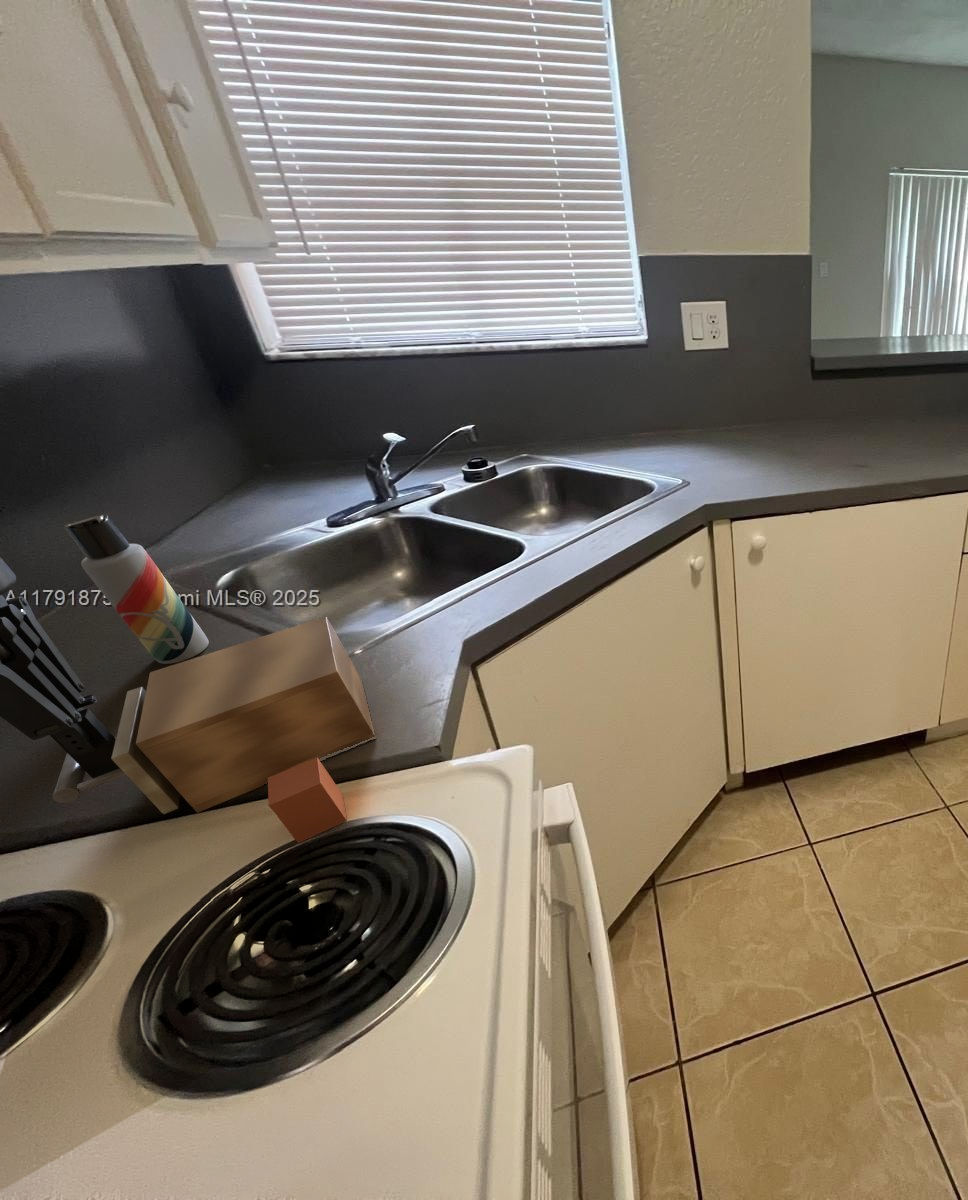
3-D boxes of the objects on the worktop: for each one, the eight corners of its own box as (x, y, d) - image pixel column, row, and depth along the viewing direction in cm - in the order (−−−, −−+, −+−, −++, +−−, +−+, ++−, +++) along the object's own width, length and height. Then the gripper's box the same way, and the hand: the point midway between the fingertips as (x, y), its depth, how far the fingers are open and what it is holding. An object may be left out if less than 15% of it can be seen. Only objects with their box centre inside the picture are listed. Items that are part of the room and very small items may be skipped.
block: (298, 843, 59) (268, 805, 56) (295, 815, 61) (267, 777, 58) (347, 820, 61) (320, 782, 57) (342, 794, 63) (317, 757, 60)
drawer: (82, 847, 58) (20, 791, 54) (101, 771, 66) (48, 716, 61) (337, 744, 68) (302, 689, 63) (327, 688, 76) (295, 636, 71)
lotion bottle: (166, 670, 81) (59, 533, 70) (149, 656, 84) (43, 522, 73) (217, 646, 85) (123, 513, 74) (200, 634, 88) (107, 504, 77)
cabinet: (197, 813, 62) (135, 743, 57) (202, 738, 71) (149, 672, 65) (376, 739, 70) (337, 671, 64) (362, 679, 78) (326, 615, 73)
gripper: (-41, 575, 46) (155, 789, 59) (4, 516, 55) (166, 713, 68) (-202, 613, 42) (45, 832, 55) (-126, 543, 51) (72, 746, 64)
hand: (112, 766), depth 61 cm, fingers closed
